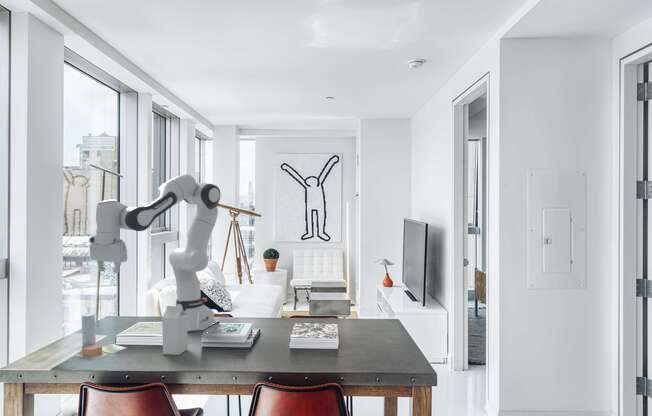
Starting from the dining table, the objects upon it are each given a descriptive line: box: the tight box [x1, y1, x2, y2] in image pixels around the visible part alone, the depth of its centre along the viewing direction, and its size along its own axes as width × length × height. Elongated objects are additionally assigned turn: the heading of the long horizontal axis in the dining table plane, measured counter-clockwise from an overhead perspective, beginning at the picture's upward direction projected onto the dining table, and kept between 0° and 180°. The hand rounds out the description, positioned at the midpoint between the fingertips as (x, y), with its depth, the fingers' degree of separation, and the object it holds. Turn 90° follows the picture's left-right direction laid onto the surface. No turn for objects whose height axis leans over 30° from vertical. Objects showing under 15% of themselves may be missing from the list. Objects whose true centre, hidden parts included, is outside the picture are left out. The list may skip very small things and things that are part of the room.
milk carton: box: [161, 305, 188, 356], centre depth 185 cm, size 7×7×19 cm
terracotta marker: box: [82, 344, 103, 357], centre depth 180 cm, size 5×5×3 cm
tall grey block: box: [81, 313, 97, 349], centre depth 191 cm, size 5×5×14 cm
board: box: [74, 343, 127, 361], centre depth 184 cm, size 16×11×1 cm
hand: (109, 271), depth 187 cm, fingers open, 8 cm apart
